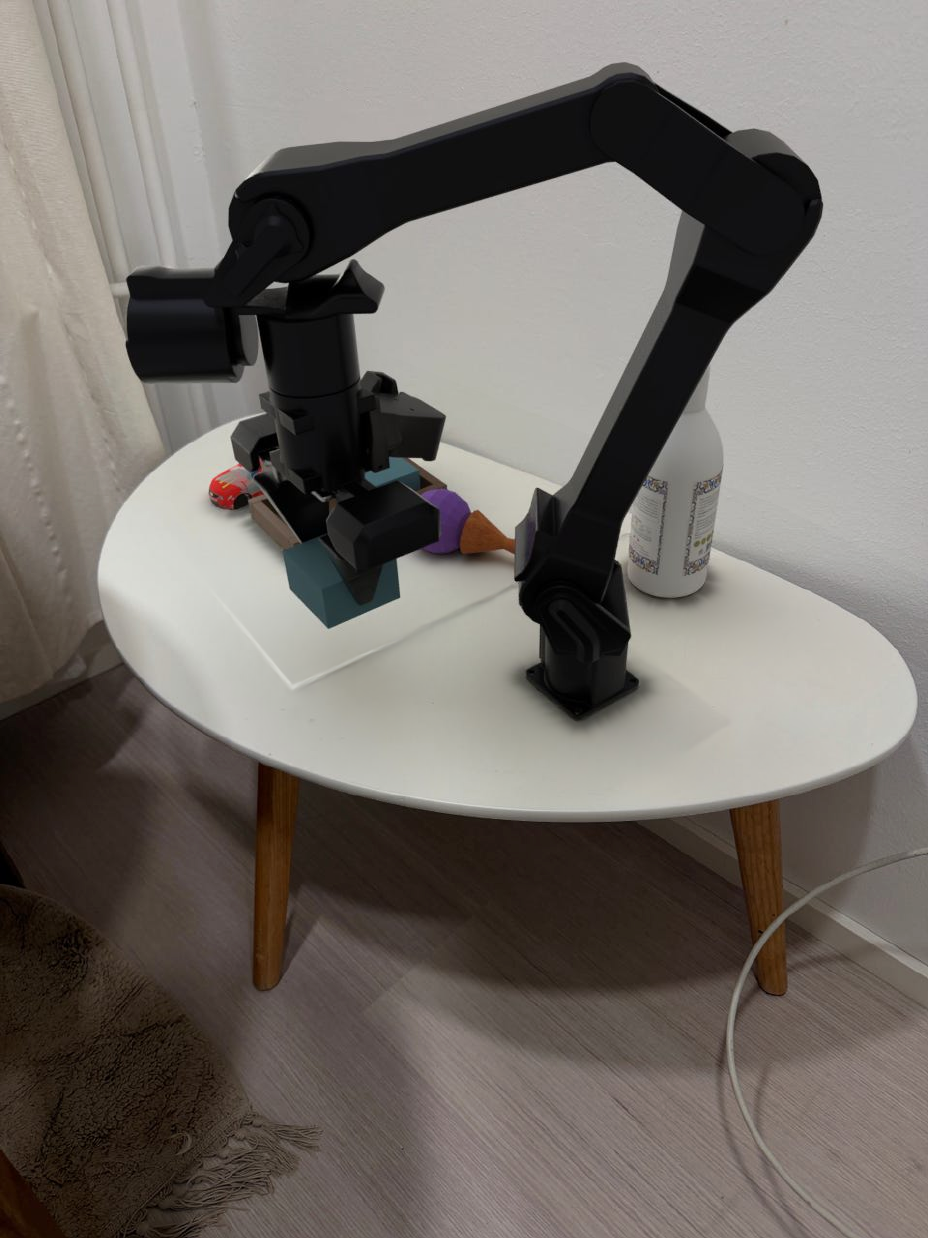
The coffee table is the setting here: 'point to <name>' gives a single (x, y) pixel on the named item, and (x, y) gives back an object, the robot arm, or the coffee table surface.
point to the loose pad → (332, 584)
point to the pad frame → (284, 536)
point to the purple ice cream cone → (464, 527)
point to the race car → (234, 487)
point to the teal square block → (396, 474)
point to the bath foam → (678, 506)
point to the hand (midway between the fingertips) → (343, 582)
